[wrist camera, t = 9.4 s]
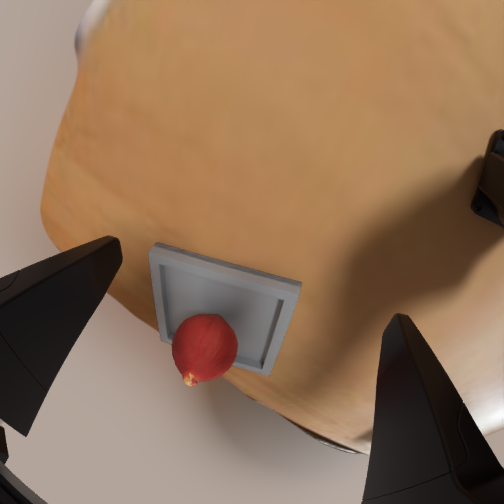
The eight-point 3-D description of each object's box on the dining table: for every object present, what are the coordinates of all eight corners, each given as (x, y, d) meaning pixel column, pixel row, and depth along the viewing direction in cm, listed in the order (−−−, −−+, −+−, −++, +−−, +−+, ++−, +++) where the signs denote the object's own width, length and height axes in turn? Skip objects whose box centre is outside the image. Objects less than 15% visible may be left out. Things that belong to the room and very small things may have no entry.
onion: (230, 344, 29) (205, 408, 23) (183, 316, 29) (148, 378, 22) (258, 317, 26) (232, 392, 19) (203, 284, 25) (163, 354, 19)
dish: (301, 282, 23) (299, 294, 22) (272, 365, 31) (269, 376, 29) (156, 242, 25) (148, 251, 23) (166, 331, 32) (160, 340, 31)
